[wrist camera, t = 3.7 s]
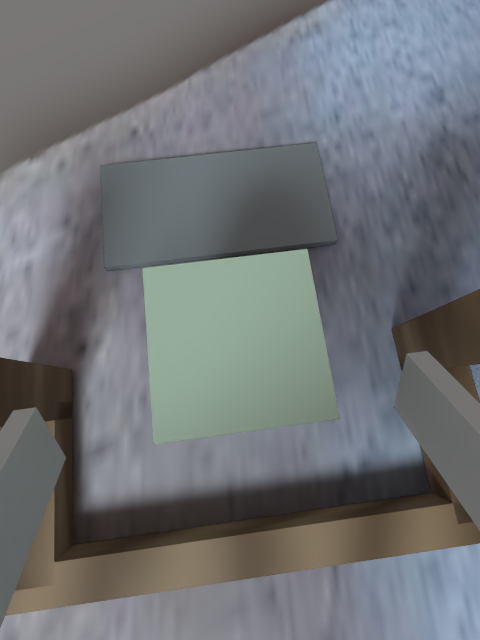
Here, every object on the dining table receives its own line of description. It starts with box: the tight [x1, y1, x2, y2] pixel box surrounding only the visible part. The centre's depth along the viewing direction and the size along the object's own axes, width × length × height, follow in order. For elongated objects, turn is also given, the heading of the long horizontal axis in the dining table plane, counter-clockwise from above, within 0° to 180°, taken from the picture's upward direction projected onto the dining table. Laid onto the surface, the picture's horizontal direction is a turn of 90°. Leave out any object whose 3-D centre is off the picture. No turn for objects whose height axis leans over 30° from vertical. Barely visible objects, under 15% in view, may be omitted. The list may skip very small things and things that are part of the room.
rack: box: [0, 289, 480, 616], centre depth 12 cm, size 27×12×16 cm, turn 97°
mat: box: [101, 143, 338, 271], centre depth 23 cm, size 16×8×1 cm, turn 97°
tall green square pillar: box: [143, 249, 340, 444], centre depth 15 cm, size 5×5×12 cm
